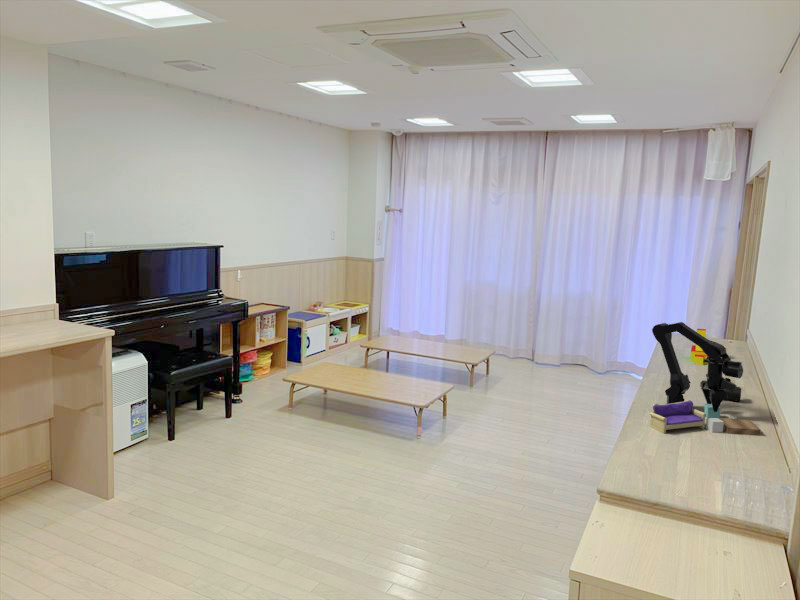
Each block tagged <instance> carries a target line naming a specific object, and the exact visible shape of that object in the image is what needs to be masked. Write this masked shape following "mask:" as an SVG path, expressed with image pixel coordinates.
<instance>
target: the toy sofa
mask: <svg viewBox="0 0 800 600" xmlns="http://www.w3.org/2000/svg"><path fill="white" fill-rule="evenodd" d="M693 407H694V403H693V401H692V400H690V399H687V400H684V402H678V403H671V404H667V403H666V404H665V403H663V404H658V403H653V404H652V411H650V412H649V416H650V428H652V429H654V430H656V431H658V432H660V433H662V434H666V433H667V430H675V429H685V428H691V427H692V428H693V427H697V428H700V429H702V430H704V429H705V422H706V420H705V419H706V418H707V417H706V413H704V411H700V410H698V409H696V408H693Z"/></svg>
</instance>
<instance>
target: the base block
mask: <svg viewBox="0 0 800 600" xmlns="http://www.w3.org/2000/svg"><path fill="white" fill-rule="evenodd" d="M719 419H720V420H722V421H723V422H724V424H723V432H725V433H726V434H729V435H744V436H756V437H757V436H758V437H761V429H760V428H759V427H758V426H757V425H756V424H755V423H754V422H753V421H752V420H751V419H741V418H728V417H727V418H725V417H720V418H719Z"/></svg>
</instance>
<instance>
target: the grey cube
mask: <svg viewBox="0 0 800 600" xmlns="http://www.w3.org/2000/svg"><path fill="white" fill-rule="evenodd" d="M705 422H706V425H705V429H706V430H707V431H709V432H711V433H724V429H723V424H724V422H723V421H722V420H720V419H718V418H707V417H706V420H705Z"/></svg>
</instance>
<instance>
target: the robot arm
mask: <svg viewBox="0 0 800 600" xmlns="http://www.w3.org/2000/svg"><path fill="white" fill-rule="evenodd" d="M651 333H652V334H653V337H654V339H655V340H656V341H657V342H658V344H659V345H660V347H661V350H662V353H663V356H664V359H665V362H666V365H667V368H668V372H669V374H670V376H669V385H670V387H668V388H666V390H664V391H665V392H664V393H665V395H666V404H671V403H678V402H684V401H686V400H685V398H684V395H685V394H686V392H687V391H689V389H690V388H691V381H690V379H689V375H688V374H684V373H683V372H682V370H681V365H680V363H679V360H678V358H677V353H676V351H675V348H674V346H673V342H672V336H673V333H679V334H681V335H682V336H683V337H684V338H686V339H688V340H689V341H690V342H692V343H694V344H695V346H696V345H698V346H699V347H700V348H701V349H702V350H703V352H704V353H705V354H706V355H707V356H708V357H707V358H706V359H705V360H703V362H707V363H708V365H707V373H706V374H705V377H706V380H701V381H700V384H699V386H700V389H701V391H702V394H703V396H704V398H705V402H706V404H712V407H713V410H714V412H717V411H718V408H719V407H720V406H721V404H722V402H723V401H727V400H726V399H728V394H727V393H726V392H725V391H724V388H725V389H727V390H730V391H731V392H734V390H735V388H736V387H737V385H736V384H735V383H734V382H732V381H731V378H736V379H741V378H742V377H743V373H744V368H743V365H742V361H736V360H734V361H733V360H732V359H731V357H730V356H729V355H728V353H727V348H726V347H725V346H724V345H723V344H721V343H719V342H717V341H713V340H710V339H708V338H706V336H705V337H703V336H702V335H700V334H699V333H697V330H696V331H695V330H694V329H693V328H691V327H690V326H688V325H687V324H686V323H685V322H682V321H679V322H675V323H669V324H668V323H665V322H663V323H659V324H655V325H654V326H652V329H651ZM725 348H726V349H725ZM721 357H722V358H721ZM723 376H725V377H723ZM729 377H731V378H729ZM719 389H721V390H719Z"/></svg>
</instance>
